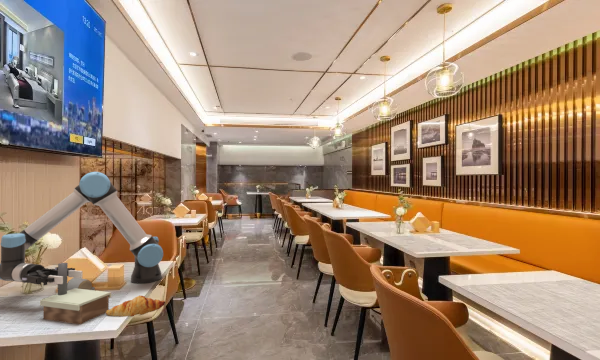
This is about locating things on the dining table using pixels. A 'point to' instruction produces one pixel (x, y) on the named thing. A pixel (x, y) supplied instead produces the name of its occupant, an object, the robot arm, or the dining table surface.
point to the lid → (71, 294)
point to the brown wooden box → (78, 312)
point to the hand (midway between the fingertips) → (72, 277)
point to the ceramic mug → (79, 284)
